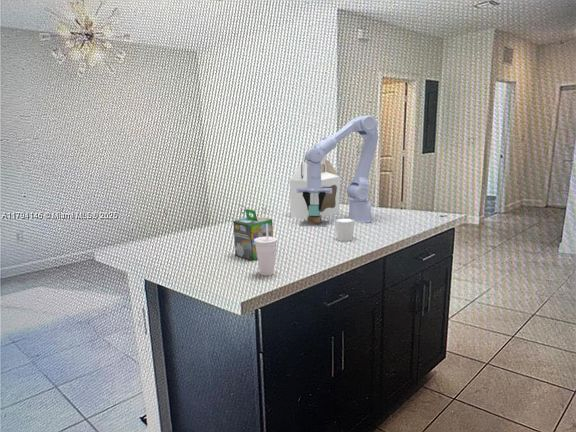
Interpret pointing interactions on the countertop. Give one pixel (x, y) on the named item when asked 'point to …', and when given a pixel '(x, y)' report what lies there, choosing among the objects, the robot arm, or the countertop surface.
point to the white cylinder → (344, 229)
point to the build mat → (323, 224)
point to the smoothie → (266, 253)
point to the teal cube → (314, 210)
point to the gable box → (327, 181)
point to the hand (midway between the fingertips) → (314, 210)
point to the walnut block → (314, 220)
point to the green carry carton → (250, 234)
